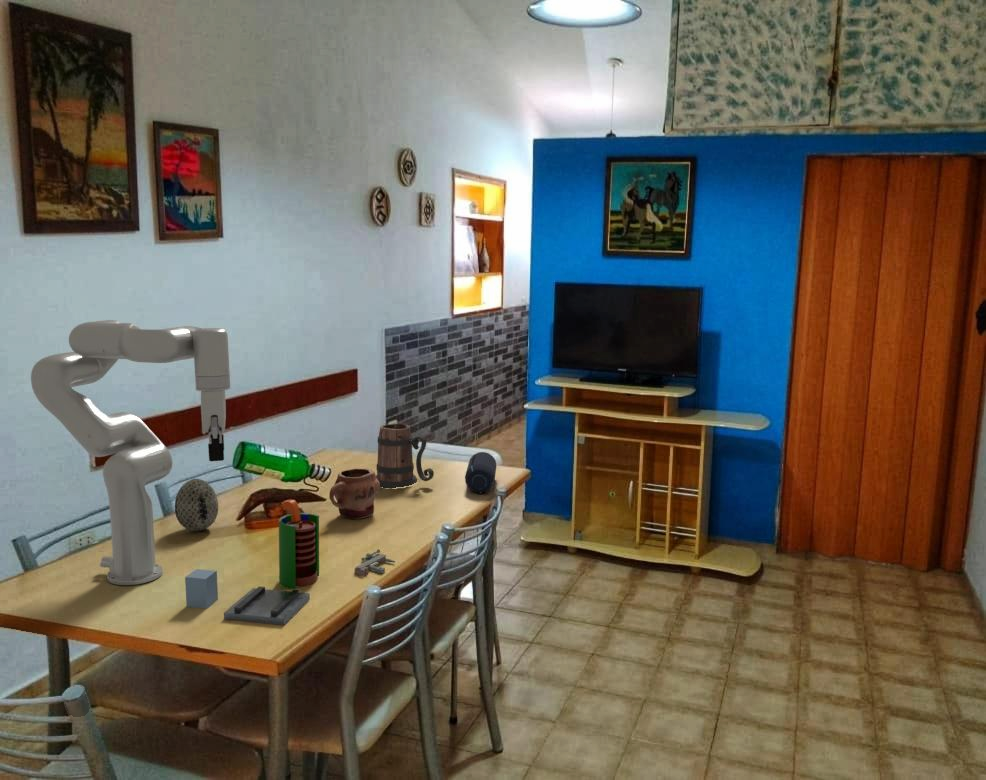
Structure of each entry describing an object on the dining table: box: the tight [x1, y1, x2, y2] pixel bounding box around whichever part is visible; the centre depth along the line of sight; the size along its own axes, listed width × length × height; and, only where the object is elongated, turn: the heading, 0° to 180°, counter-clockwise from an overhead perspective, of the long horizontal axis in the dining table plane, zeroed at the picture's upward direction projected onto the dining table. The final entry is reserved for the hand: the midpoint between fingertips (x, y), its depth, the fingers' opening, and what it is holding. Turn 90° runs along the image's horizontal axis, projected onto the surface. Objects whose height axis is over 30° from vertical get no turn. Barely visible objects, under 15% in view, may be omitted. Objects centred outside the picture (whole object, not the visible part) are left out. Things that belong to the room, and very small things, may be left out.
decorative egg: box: [174, 478, 219, 532], centre depth 243 cm, size 12×12×15 cm
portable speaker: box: [464, 451, 497, 493], centre depth 294 cm, size 25×10×10 cm, turn 178°
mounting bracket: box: [223, 586, 311, 626], centre depth 191 cm, size 14×14×2 cm
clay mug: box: [328, 468, 381, 520], centre depth 257 cm, size 20×12×14 cm, turn 152°
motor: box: [278, 499, 320, 590], centre depth 207 cm, size 10×9×20 cm
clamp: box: [354, 549, 396, 577], centre depth 219 cm, size 15×2×10 cm
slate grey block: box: [184, 568, 219, 609], centre depth 195 cm, size 5×7×7 cm
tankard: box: [375, 423, 435, 489], centre depth 294 cm, size 24×17×20 cm
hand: (216, 455), depth 197 cm, fingers open, 9 cm apart
